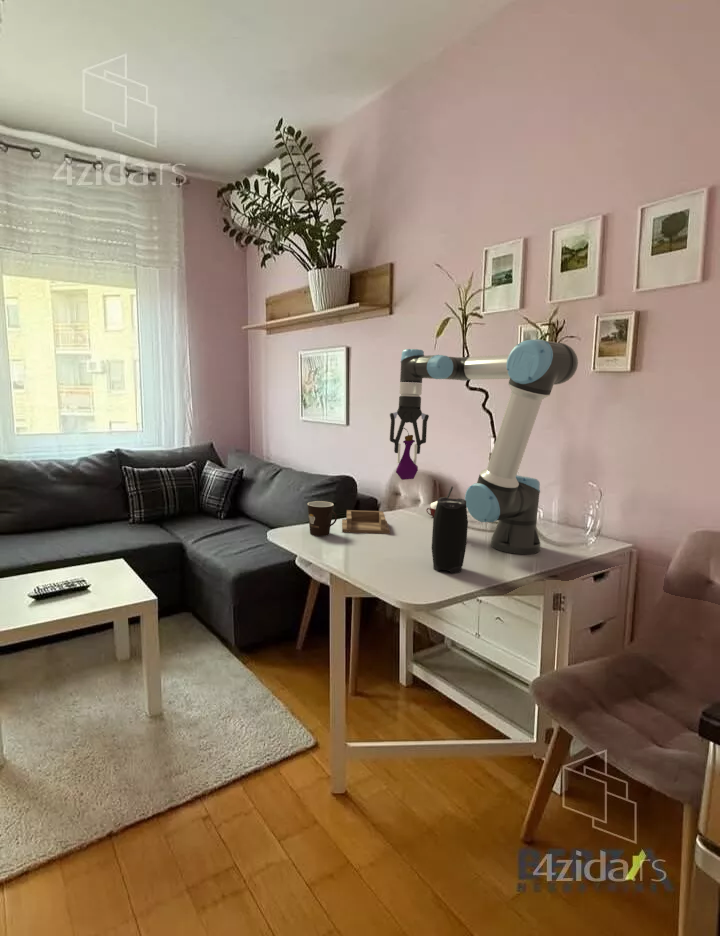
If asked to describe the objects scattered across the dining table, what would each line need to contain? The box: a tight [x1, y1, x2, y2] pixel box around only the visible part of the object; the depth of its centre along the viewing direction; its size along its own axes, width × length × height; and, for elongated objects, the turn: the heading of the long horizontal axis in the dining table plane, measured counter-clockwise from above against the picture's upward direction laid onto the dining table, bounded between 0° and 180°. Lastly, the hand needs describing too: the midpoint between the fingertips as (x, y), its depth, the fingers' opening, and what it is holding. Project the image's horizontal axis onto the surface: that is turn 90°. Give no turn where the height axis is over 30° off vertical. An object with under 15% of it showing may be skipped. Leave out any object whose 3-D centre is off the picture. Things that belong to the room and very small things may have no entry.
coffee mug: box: [307, 500, 338, 537], centre depth 184 cm, size 12×9×10 cm
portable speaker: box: [431, 496, 469, 574], centre depth 154 cm, size 9×9×20 cm
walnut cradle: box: [341, 509, 391, 535], centre depth 196 cm, size 14×16×4 cm
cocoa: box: [425, 486, 454, 518], centre depth 215 cm, size 10×6×12 cm, turn 68°
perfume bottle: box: [395, 427, 419, 481], centre depth 196 cm, size 8×8×18 cm
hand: (406, 462), depth 196 cm, fingers closed on perfume bottle, 5 cm apart
